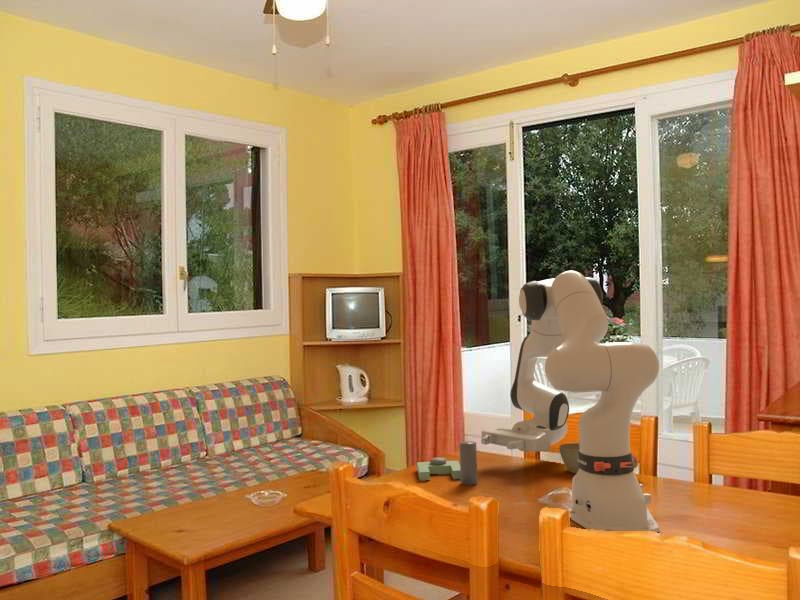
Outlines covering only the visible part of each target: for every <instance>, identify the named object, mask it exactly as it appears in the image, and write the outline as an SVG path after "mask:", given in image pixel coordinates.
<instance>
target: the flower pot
mask: <svg viewBox="0 0 800 600" xmlns="http://www.w3.org/2000/svg"><path fill="white" fill-rule="evenodd" d="M558 450H559V453H560V456H561V460H562V462H563V464H564V466H565V467H566V469H567V471H568V472H569V473H572V474H577V472H578V470H579V467H578V461H577V457H578V451H579V450H580V448H579V442H567V443H566V442H565V443H561V444H560V445H559V446H558Z"/></svg>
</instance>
